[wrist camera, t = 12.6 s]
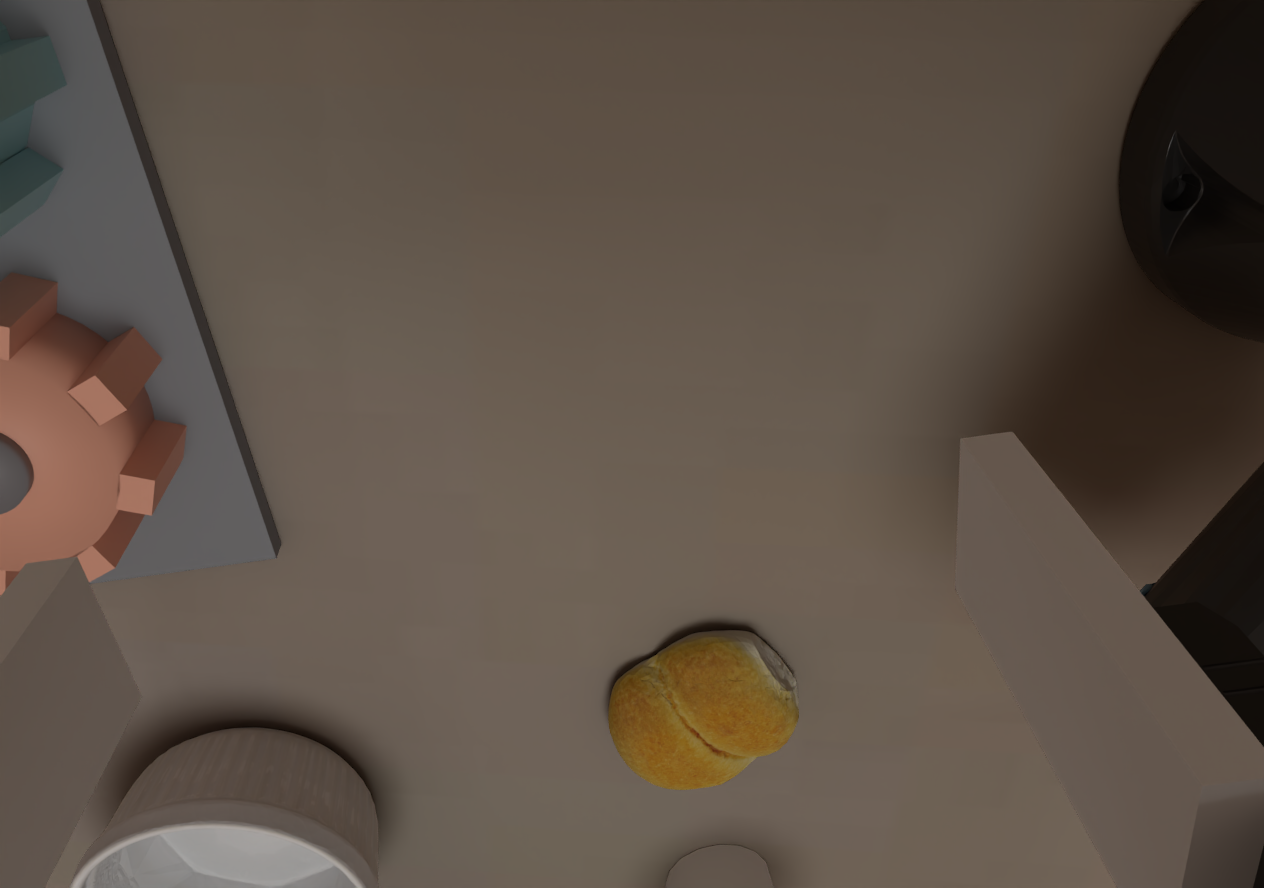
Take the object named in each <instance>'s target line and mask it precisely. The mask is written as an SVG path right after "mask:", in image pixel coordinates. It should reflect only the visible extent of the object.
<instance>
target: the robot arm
mask: <svg viewBox="0 0 1264 888" xmlns="http://www.w3.org/2000/svg"><path fill="white" fill-rule="evenodd" d="M1120 205H1121V214H1122V219H1123V224H1124V229H1125V232H1126V235H1127V239H1128V242H1129V244H1130V247H1131V249H1132V252H1133V254H1134V256H1135V258H1136V260H1137V261H1138V263H1139V265H1140V266H1141V268H1142V269H1143V271H1144V272H1145V274H1146V275H1147V276H1148V277H1149V279H1150V280H1151V281H1152V282H1153V283H1154V284H1155V285H1156V286H1157V287H1158V289H1160V290H1161V291H1162V292H1163V293H1164V294H1165V295H1167V296H1168V297H1169V298H1171V299H1172V300H1173V301H1175V302H1176V303H1178V304H1179V305H1181V306H1182V307H1184V308H1185V309H1186V310H1188V311H1189V312H1191V313H1192V314H1194V315H1195V316H1197V317H1198V318H1199V319H1201V320H1202V321H1204V322H1206V323H1208V324H1210V325H1211V326H1213V327H1215V328H1218V329H1220V330H1222V331H1225V332H1227V333H1230V334H1233V335H1236V336H1239V337H1242V338H1246V339H1250V340H1254V341H1259V342H1264V0H1205V1H1204V2H1203V3H1202V4H1201V5H1200V6H1199V7H1198V8H1197V10H1196V11H1195V12H1194V13H1193V14H1192V15H1191V16H1190V17H1189V19H1188V20H1187V21H1186V22H1185V24H1184V25H1183V26H1182V27H1181V29H1180V30H1179V31H1178V32H1177V34H1176V35H1175V37H1174V38H1173V39H1172V41H1171V42H1170V44H1169V45H1168V47H1167V48H1166V50H1165V51H1164V53H1163V54H1162V56H1161V58H1160V59H1159V61H1158V62H1157V64H1156V66H1155V68H1154V69H1153V71H1152V73H1151V75H1150V77H1149V79H1148V81H1147V83H1146V85H1145V87H1144V89H1143V91H1142V93H1141V95H1140V98H1139V100H1138V103H1137V105H1136V108H1135V110H1134V113H1133V116H1132V119H1131V122H1130V125H1129V129H1128V133H1127V136H1126V140H1125V145H1124V150H1123V155H1122V162H1121V171H1120ZM955 590H956V592H957V593H958V595H959V597H960V599H961V601H962V603H963V605H964V606H965V608H966V610H967V612H968V614H969V616H970V617H971V619H972V621H973V623H974V625H975V627H976V629H977V630H978V632H979V634H980V636H981V638H982V640H983V641H984V643H985V645H986V647H987V649H988V651H989V652H990V654H991V656H992V658H993V660H994V662H995V664H996V665H997V667H998V669H999V671H1000V673H1001V675H1002V676H1003V678H1004V680H1005V682H1006V684H1007V686H1008V687H1009V689H1010V691H1011V693H1012V695H1013V697H1014V699H1015V700H1016V702H1017V704H1018V706H1019V708H1020V710H1021V711H1022V713H1023V715H1024V717H1025V719H1026V721H1027V723H1028V724H1029V726H1030V728H1031V730H1032V732H1033V734H1034V735H1035V737H1036V739H1037V741H1038V743H1039V745H1040V746H1041V748H1042V750H1043V752H1044V754H1045V756H1046V758H1047V759H1048V761H1049V763H1050V765H1051V767H1052V769H1053V770H1054V772H1055V774H1056V776H1057V778H1058V780H1059V782H1060V783H1061V785H1062V787H1063V789H1064V791H1065V793H1066V794H1067V796H1068V798H1069V800H1070V802H1071V804H1072V805H1073V807H1074V809H1075V811H1076V813H1077V815H1078V817H1079V818H1080V820H1081V822H1082V824H1083V826H1084V828H1085V829H1086V831H1087V833H1088V835H1089V837H1090V839H1091V841H1092V842H1093V844H1094V846H1095V848H1096V850H1097V852H1098V853H1099V855H1100V857H1101V859H1102V861H1103V863H1104V864H1105V866H1106V868H1107V870H1108V872H1109V874H1110V876H1111V877H1112V879H1113V881H1114V883H1115V885H1116V887H1117V888H1264V462H1263V463H1262V464H1261V465H1260V467H1259V468H1258V469H1257V470H1256V471H1255V472H1254V473H1253V474H1252V476H1251V477H1250V478H1249V479H1248V480H1247V481H1246V482H1245V483H1244V485H1243V486H1242V487H1241V488H1240V489H1239V490H1238V491H1237V492H1236V494H1235V495H1234V496H1233V497H1232V498H1231V499H1230V500H1229V501H1228V502H1227V504H1226V505H1225V506H1224V507H1223V508H1222V509H1221V510H1220V511H1219V513H1218V514H1217V515H1216V516H1215V517H1214V518H1213V519H1212V520H1211V522H1210V523H1209V524H1208V525H1207V526H1206V527H1205V528H1204V529H1203V531H1202V532H1201V533H1200V534H1199V535H1198V536H1197V537H1196V538H1195V539H1194V541H1193V542H1192V543H1191V544H1190V545H1189V546H1188V547H1187V548H1186V550H1185V551H1184V552H1183V553H1182V554H1181V555H1180V556H1179V557H1178V559H1177V560H1176V561H1175V562H1174V563H1173V564H1172V565H1171V566H1170V568H1169V569H1168V570H1167V571H1166V572H1165V573H1164V574H1163V575H1162V576H1161V578H1160V579H1159V580H1158V581H1157V582H1156V583H1153V584H1146V585H1145V586H1144V587H1143V588H1142V589H1141V590H1140V591H1139V590H1138V589H1137V587H1136V586H1135V585H1134V584H1133V582H1132V581H1131V580H1130V579H1129V577H1128V576H1127V575H1126V574H1125V572H1124V571H1123V570H1122V569H1121V567H1120V566H1119V565H1118V564H1117V562H1116V561H1115V560H1114V558H1113V557H1112V556H1111V555H1110V553H1109V552H1108V551H1107V550H1106V548H1105V547H1104V546H1103V545H1102V543H1101V542H1100V541H1099V540H1098V538H1097V537H1096V536H1095V535H1094V533H1093V532H1092V531H1091V530H1090V528H1089V527H1088V526H1087V525H1086V523H1085V522H1084V521H1083V520H1082V518H1081V517H1080V516H1079V515H1078V513H1077V512H1076V511H1075V509H1074V508H1073V507H1072V506H1071V504H1070V503H1069V502H1068V501H1067V499H1066V498H1065V497H1064V496H1063V494H1062V493H1061V492H1060V491H1059V489H1058V488H1057V487H1056V486H1055V484H1054V483H1053V482H1052V481H1051V479H1050V478H1049V477H1048V476H1047V474H1046V473H1045V472H1044V471H1043V469H1042V468H1041V467H1040V466H1039V464H1038V463H1037V462H1036V461H1035V459H1034V458H1033V457H1032V455H1031V454H1030V453H1029V452H1028V450H1027V449H1026V448H1025V447H1024V445H1023V444H1022V443H1021V442H1020V440H1019V439H1018V438H1017V437H1016V435H1015V434H1014V433H1013V432H1004V433H997V434H990V435H982V436H975V437H967V438H960V463H959V491H958V518H957V545H956V573H955ZM141 698H142V695H141V693H140V691H139V689H138V686H137V684H136V682H135V680H134V678H133V676H132V674H131V671H130V669H129V667H128V665H127V663H126V661H125V659H124V656H123V654H122V652H121V650H120V648H119V646H118V643H117V641H116V639H115V637H114V635H113V633H112V631H111V628H110V626H109V624H108V622H107V620H106V618H105V615H104V613H103V611H102V609H101V607H100V605H99V603H98V600H97V598H96V596H95V594H94V592H93V590H92V587H91V585H90V583H89V581H88V579H87V577H86V575H85V572H84V570H83V568H82V566H81V564H80V562H79V559H78V557H71V558H63V559H56V560H48V561H41V562H33V563H26V564H25V565H24V567H23V568H22V569H21V571H20V572H19V573H18V575H17V576H16V577H15V578H14V580H13V581H12V582H11V584H10V585H9V586H8V587H7V589H6V590H5V591H4V593H3V594H2V595H1V596H0V888H45V886H46V884H47V882H48V880H49V878H50V876H51V874H52V872H53V870H54V868H55V866H56V864H57V862H58V860H59V858H60V857H61V855H62V853H63V851H64V849H65V847H66V845H67V843H68V841H69V839H70V837H71V835H72V833H73V831H74V829H75V827H76V825H77V823H78V821H79V819H80V817H81V815H82V813H83V811H84V809H85V808H86V806H87V804H88V802H89V800H90V798H91V796H92V794H93V792H94V790H95V788H96V786H97V784H98V782H99V780H100V778H101V776H102V774H103V772H104V770H105V768H106V766H107V764H108V762H109V760H110V758H111V757H112V755H113V753H114V751H115V749H116V747H117V745H118V743H119V741H120V739H121V737H122V735H123V733H124V731H125V729H126V727H127V725H128V723H129V721H130V719H131V717H132V715H133V713H134V711H135V709H136V708H137V706H138V704H139V702H140V700H141Z"/></svg>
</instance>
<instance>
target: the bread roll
mask: <svg viewBox="0 0 1264 888" xmlns="http://www.w3.org/2000/svg"><path fill="white" fill-rule="evenodd" d="M798 706H799V700H798V695H797V686H796V679H795V678H794V676H793V675H792V673H791V672H790V671H789V669H788V668H787V666H786V665H785V664H784V662H783V661H782V660H781V658H780V657H779V656H778V655H777V653H776V652H775V651H774V650H772V649H771V648H770V647H769V646H768V645H767V644H766V643H765V642H763V641H762V640H761V639H760V638H759V637H758V636H756V635H755V634H753V633H751V632H748V631H741V630H723V631H707V632H697V633H694V634H691V635H688V636H686V637H684V638H682V639H680V640H678V641H676V642H674V643H673V644H671V645H669V646H668V647H667V648H665V649H663V650H661V651H659V652H658V653H657V654H656V655H655V656H653V657H652V658H649V659H647V660H644V661H642V662H641V663H639V664H637V665H636V666H634V667H633V668H632V669H630V670H629V671H627V672H626V673H625V674H623V675H622V676H621V677H620V678H619V679H618V680H617V681H616V683H615V685H614V687H613V690H612V693H611V698H610V703H609V715H608V720H609V729H610V733H611V736H612V738H613V741H614V744H615V746H616V748H617V750H618V752H619V754H620V756H621V757H622V759H623V760H624V761H625V763H626V764H627V765H628V766H629V767H630V768H631V769H632V770H633V771H634V772H635V773H636V774H637V775H639V776H640V777H642V778H643V779H645V780H646V781H648V782H650V783H652V784H654V785H657V786H660V787H663V788H667V789H675V790H688V789H697V788H704V787H711V786H715V785H721V784H723V783H724V782H726V781H728V780H730V779H731V778H733V777H734V776H736V775H737V774H739V773H740V772H741V771H742V770H743V769H745V768H746V767H747V766H748V765H749V764H750V763H751V762H752V761H753V760H754V759H755V758H757V757H759V756H765V755H768V754H771V753H773V752H776V751H778V750H779V749H780V748H781V747H782V746H783V745H784V744H786V743H787V741H788V739H789V738H790V736H791V735H792V733H793V731H794V729H795V727H796V724H797V722H798V718H799V709H798Z"/></svg>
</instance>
